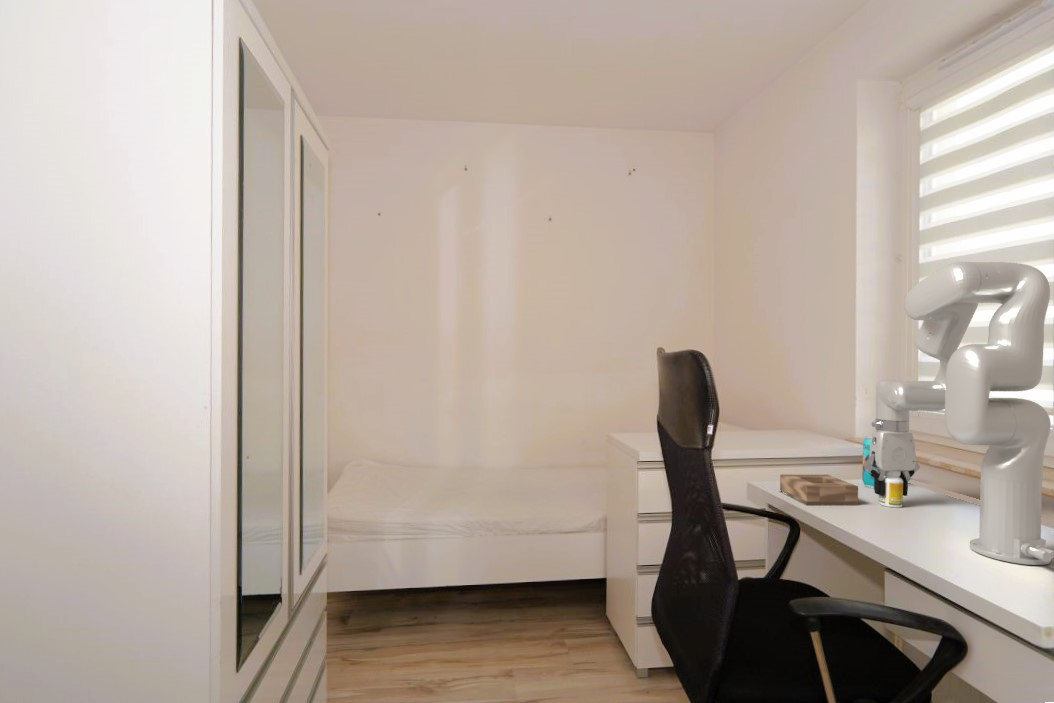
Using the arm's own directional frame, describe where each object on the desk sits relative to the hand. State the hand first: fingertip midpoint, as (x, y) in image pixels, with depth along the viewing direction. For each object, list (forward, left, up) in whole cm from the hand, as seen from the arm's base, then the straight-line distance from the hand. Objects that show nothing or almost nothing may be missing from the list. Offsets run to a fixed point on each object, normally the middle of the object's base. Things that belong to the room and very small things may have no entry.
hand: (890, 493), depth 152 cm
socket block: (+7, +16, -3) cm, 18 cm away
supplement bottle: (0, 0, -3) cm, 3 cm away
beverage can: (+20, -9, -3) cm, 22 cm away
